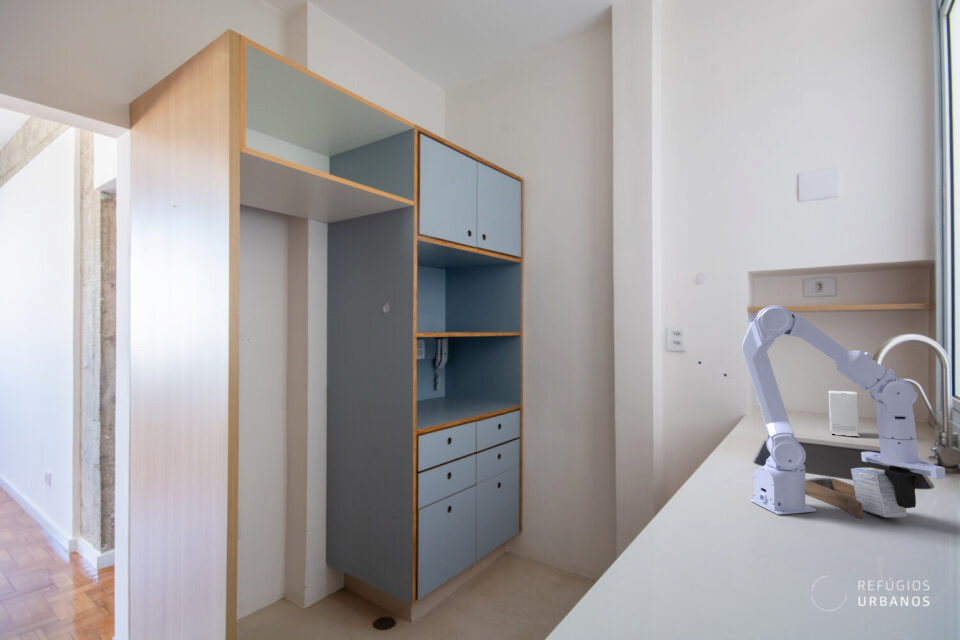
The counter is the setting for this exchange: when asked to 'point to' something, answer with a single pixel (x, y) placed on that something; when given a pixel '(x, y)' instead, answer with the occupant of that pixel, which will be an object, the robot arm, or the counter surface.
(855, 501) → the guide channel
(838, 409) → the skincare box
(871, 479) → the medicine box
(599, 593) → the counter surface
